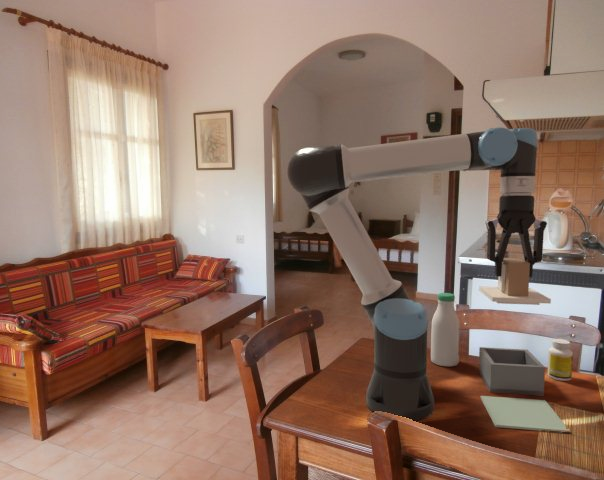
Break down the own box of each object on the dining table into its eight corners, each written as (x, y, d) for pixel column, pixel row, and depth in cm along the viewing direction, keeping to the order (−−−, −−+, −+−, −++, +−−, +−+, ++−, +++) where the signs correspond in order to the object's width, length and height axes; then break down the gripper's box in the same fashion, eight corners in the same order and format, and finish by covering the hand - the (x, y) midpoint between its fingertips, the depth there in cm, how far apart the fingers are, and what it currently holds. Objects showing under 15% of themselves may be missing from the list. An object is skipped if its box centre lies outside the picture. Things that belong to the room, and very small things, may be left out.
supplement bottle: (575, 382, 107) (577, 345, 106) (551, 380, 108) (553, 343, 107) (566, 373, 112) (568, 338, 111) (544, 372, 113) (545, 337, 112)
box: (490, 392, 102) (491, 364, 101) (478, 372, 114) (479, 347, 113) (543, 395, 100) (545, 367, 99) (526, 375, 111) (527, 349, 111)
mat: (495, 426, 86) (495, 424, 86) (480, 397, 99) (480, 395, 99) (569, 433, 84) (570, 430, 84) (544, 402, 96) (544, 400, 96)
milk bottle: (457, 369, 116) (459, 298, 114) (428, 364, 119) (429, 295, 117) (460, 359, 123) (461, 292, 121) (432, 355, 126) (434, 290, 124)
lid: (492, 304, 98) (494, 263, 97) (478, 293, 111) (480, 256, 110) (550, 306, 96) (552, 264, 95) (529, 294, 109) (531, 257, 108)
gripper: (482, 194, 99) (478, 291, 101) (563, 194, 96) (557, 294, 98) (474, 195, 106) (471, 285, 108) (549, 194, 103) (544, 287, 106)
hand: (512, 289), depth 103 cm, fingers closed on lid, 4 cm apart
